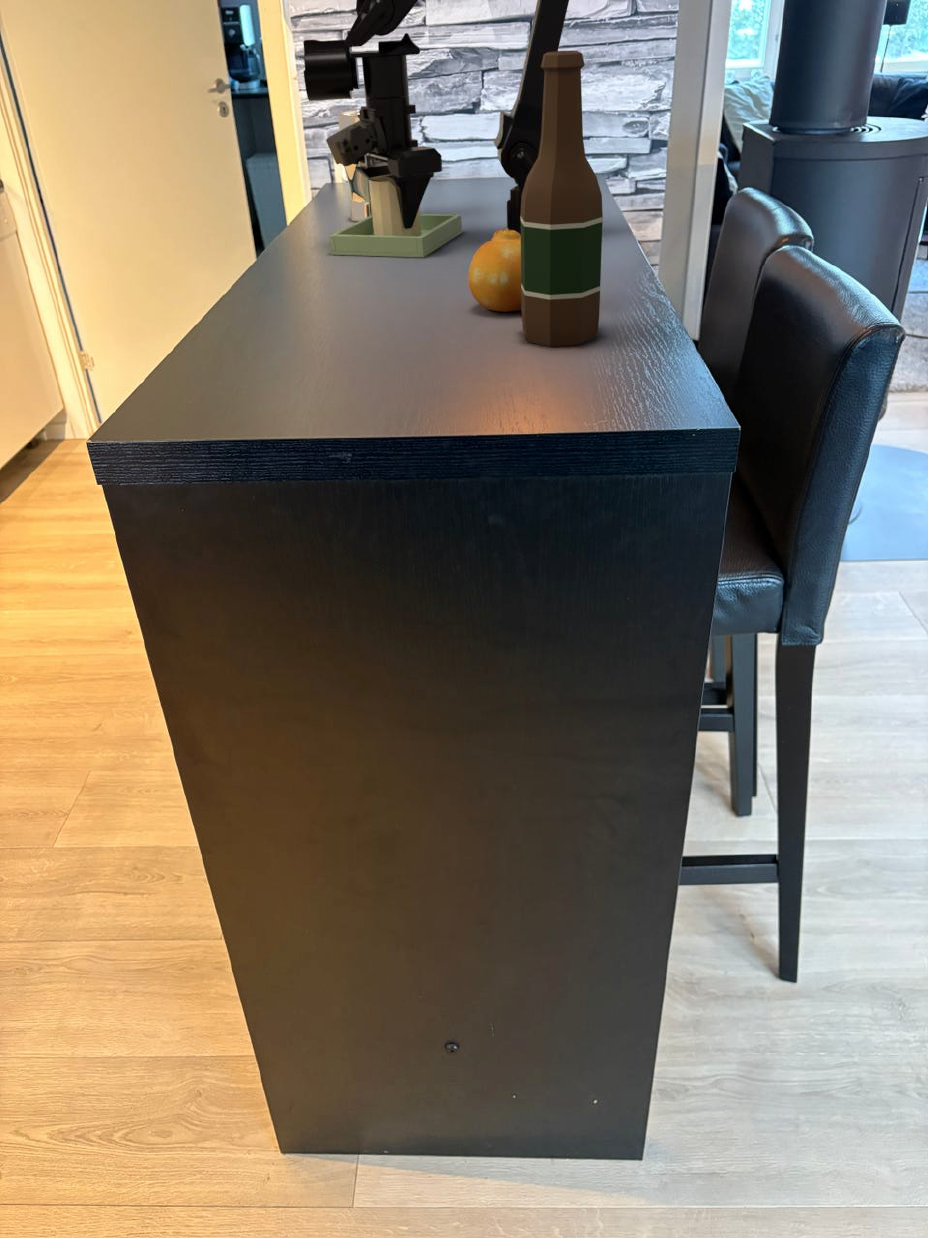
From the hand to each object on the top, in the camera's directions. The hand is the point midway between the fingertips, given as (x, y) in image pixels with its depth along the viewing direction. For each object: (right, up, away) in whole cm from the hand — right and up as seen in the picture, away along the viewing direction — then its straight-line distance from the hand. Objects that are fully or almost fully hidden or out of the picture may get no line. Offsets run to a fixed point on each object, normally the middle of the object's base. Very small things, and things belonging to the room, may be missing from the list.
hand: (397, 224), depth 130 cm
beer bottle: (+19, -27, -38) cm, 50 cm away
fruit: (+14, -21, -29) cm, 38 cm away
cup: (0, -2, +1) cm, 2 cm away
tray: (0, -2, +1) cm, 3 cm away
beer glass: (-6, +9, +18) cm, 21 cm away
